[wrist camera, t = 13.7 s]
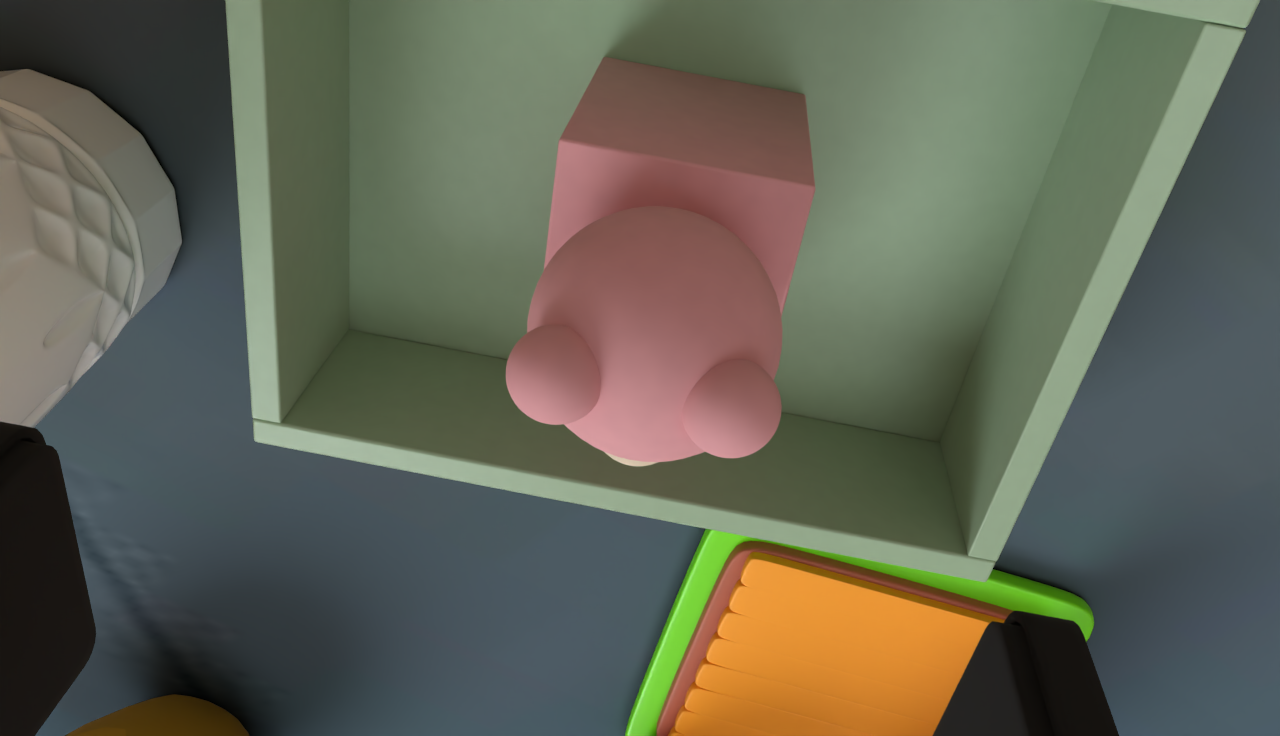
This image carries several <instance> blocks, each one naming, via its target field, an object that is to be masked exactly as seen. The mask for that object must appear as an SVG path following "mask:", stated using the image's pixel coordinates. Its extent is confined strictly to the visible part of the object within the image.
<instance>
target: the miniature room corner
mask: <svg viewBox="0 0 1280 736" xmlns="http://www.w3.org/2000/svg"><path fill="white" fill-rule="evenodd" d="M1013 611H1023V612H1028V613H1034V614H1039V615H1044V616H1050V617H1055V618H1060V619H1066V620H1071V621H1074V622H1075V623H1076V624H1078V625H1079V627H1080V629H1081V630H1082V632H1083V634H1084V637H1085V640H1086V642H1087V640H1088V639H1089V637H1090V635H1091V633H1092V630H1093V627H1094V619H1093V613H1092V610H1091V608H1090V606H1089V605H1088V604H1087V603H1086V602H1085V601H1084V600H1083V599H1082V598H1080V597H1078V596H1076V595H1074V594H1072V593H1069V592H1067V591H1064V590H1061V589H1058V588H1055V587H1052V586H1049V585H1045V584H1042V583H1039V582H1035V581H1032V580H1029V579H1025V578H1022V577H1019V576H1015V575H1012V574H1008V573H1005V572H1001V571H998V570H994V569H992V572H991V574H990V576H989V578H988V580H987V581H986V582H980V581H975V580H970V579H965V578H959V577H954V576H949V575H944V574H939V573H934V572H928V571H923V570H918V569H913V568H908V567H902V566H897V565H892V564H887V563H882V562H876V561H871V560H866V559H861V558H856V557H851V556H845V555H840V554H835V553H830V552H825V551H819V550H814V549H809V548H804V547H799V546H794V545H788V544H783V543H778V542H773V541H768V540H762V539H757V538H752V537H747V536H742V535H736V534H731V533H726V532H721V531H716V530H711V529H706V530H705V532H704V534H703V536H702V538H701V541H700V543H699V545H698V547H697V550H696V552H695V554H694V556H693V559H692V561H691V563H690V566H689V568H688V570H687V573H686V575H685V578H684V580H683V582H682V585H681V587H680V590H679V592H678V594H677V597H676V599H675V602H674V604H673V606H672V609H671V611H670V614H669V616H668V619H667V621H666V624H665V626H664V629H663V631H662V634H661V636H660V639H659V641H658V644H657V646H656V649H655V651H654V654H653V656H652V659H651V661H650V664H649V666H648V669H647V671H646V674H645V676H644V679H643V682H642V684H641V687H640V689H639V692H638V695H637V697H636V700H635V703H634V706H633V708H632V711H631V714H630V717H629V720H628V724H627V728H626V733H625V736H933V734H934V732H935V730H936V727H937V725H938V723H939V721H940V719H941V717H942V715H943V713H944V711H945V709H946V707H947V705H948V703H949V701H950V699H951V697H952V695H953V693H954V691H955V689H956V687H957V685H958V683H959V681H960V679H961V677H962V675H963V673H964V671H965V669H966V667H967V665H968V663H969V661H970V659H971V657H972V655H973V653H974V651H975V649H976V647H977V645H978V643H979V641H980V639H981V637H982V635H983V633H984V630H985V629H986V627H987V626H988V624H989V623H991V622H992V621H994V622H1001V623H1004V621H1005V620H1006V618H1007V617H1008V615H1009V614H1010V613H1012V612H1013Z"/></svg>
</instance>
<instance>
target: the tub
mask: <svg viewBox="0 0 1280 736" xmlns="http://www.w3.org/2000/svg"><path fill="white" fill-rule="evenodd" d="M1259 1H1260V0H225V2H226V17H227V33H228V48H229V64H230V79H231V95H232V110H233V126H234V142H235V157H236V173H237V188H238V204H239V219H240V235H241V251H242V266H243V282H244V297H245V313H246V328H247V344H248V359H249V375H250V391H251V406H252V417H253V418H254V419H253V430H254V440H255V441H256V442H259V443H265V444H270V445H275V446H280V447H285V448H290V449H296V450H301V451H306V452H311V453H316V454H322V455H327V456H332V457H337V458H342V459H348V460H353V461H358V462H363V463H368V464H373V465H379V466H384V467H389V468H394V469H399V470H405V471H410V472H415V473H420V474H425V475H430V476H436V477H441V478H446V479H451V480H456V481H462V482H467V483H472V484H477V485H482V486H488V487H493V488H498V489H503V490H508V491H513V492H519V493H524V494H529V495H534V496H539V497H545V498H550V499H555V500H560V501H565V502H571V503H576V504H581V505H586V506H591V507H596V508H602V509H607V510H612V511H617V512H622V513H628V514H633V515H638V516H643V517H648V518H653V519H659V520H664V521H669V522H674V523H679V524H685V525H690V526H695V527H700V528H705V529H711V530H716V531H721V532H726V533H731V534H736V535H742V536H747V537H752V538H757V539H762V540H768V541H773V542H778V543H783V544H788V545H794V546H799V547H804V548H809V549H814V550H819V551H825V552H830V553H835V554H840V555H845V556H851V557H856V558H861V559H866V560H871V561H876V562H882V563H887V564H892V565H897V566H902V567H908V568H913V569H918V570H923V571H928V572H934V573H939V574H944V575H949V576H954V577H959V578H965V579H970V580H975V581H980V582H986V581H987V580H988V578H989V576H990V574H991V572H992V569H993V567H994V565H995V561H997V560H998V558H999V556H1000V554H1001V552H1002V550H1003V548H1004V545H1005V543H1006V541H1007V539H1008V537H1009V535H1010V533H1011V531H1012V528H1013V526H1014V524H1015V522H1016V520H1017V518H1018V516H1019V514H1020V511H1021V509H1022V507H1023V505H1024V503H1025V501H1026V499H1027V497H1028V494H1029V492H1030V490H1031V488H1032V486H1033V484H1034V482H1035V480H1036V477H1037V475H1038V473H1039V471H1040V469H1041V467H1042V465H1043V463H1044V460H1045V458H1046V456H1047V454H1048V452H1049V450H1050V448H1051V446H1052V443H1053V441H1054V439H1055V437H1056V435H1057V433H1058V431H1059V429H1060V426H1061V424H1062V422H1063V420H1064V418H1065V416H1066V414H1067V412H1068V409H1069V407H1070V405H1071V403H1072V401H1073V399H1074V397H1075V395H1076V392H1077V390H1078V388H1079V386H1080V384H1081V382H1082V380H1083V378H1084V375H1085V373H1086V371H1087V369H1088V367H1089V365H1090V363H1091V361H1092V358H1093V356H1094V354H1095V352H1096V350H1097V348H1098V346H1099V344H1100V341H1101V339H1102V337H1103V335H1104V333H1105V331H1106V329H1107V327H1108V324H1109V322H1110V320H1111V318H1112V316H1113V314H1114V312H1115V310H1116V307H1117V305H1118V303H1119V301H1120V299H1121V297H1122V295H1123V293H1124V290H1125V288H1126V286H1127V284H1128V282H1129V280H1130V278H1131V276H1132V273H1133V271H1134V269H1135V267H1136V265H1137V263H1138V261H1139V259H1140V256H1141V254H1142V252H1143V250H1144V248H1145V246H1146V244H1147V242H1148V239H1149V237H1150V235H1151V233H1152V231H1153V229H1154V227H1155V225H1156V222H1157V220H1158V218H1159V216H1160V214H1161V212H1162V210H1163V208H1164V205H1165V203H1166V201H1167V199H1168V197H1169V195H1170V193H1171V191H1172V188H1173V186H1174V184H1175V182H1176V180H1177V178H1178V176H1179V174H1180V171H1181V169H1182V167H1183V165H1184V163H1185V161H1186V159H1187V157H1188V154H1189V152H1190V150H1191V148H1192V146H1193V144H1194V142H1195V140H1196V137H1197V135H1198V133H1199V131H1200V129H1201V127H1202V125H1203V123H1204V120H1205V118H1206V116H1207V114H1208V112H1209V110H1210V108H1211V106H1212V103H1213V101H1214V99H1215V97H1216V95H1217V93H1218V91H1219V89H1220V86H1221V84H1222V82H1223V80H1224V78H1225V76H1226V74H1227V72H1228V69H1229V67H1230V65H1231V63H1232V61H1233V59H1234V57H1235V55H1236V52H1237V50H1238V48H1239V46H1240V44H1241V42H1242V40H1243V38H1244V35H1245V33H1246V30H1244V29H1243V28H1245V27H1247V26H1248V25H1249V23H1250V21H1251V18H1252V16H1253V14H1254V12H1255V10H1256V8H1257V6H1258V3H1259ZM603 57H609V58H614V59H619V60H625V61H630V62H635V63H641V64H646V65H651V66H657V67H662V68H667V69H672V70H678V71H683V72H688V73H694V74H699V75H704V76H710V77H715V78H720V79H725V80H731V81H736V82H741V83H747V84H752V85H757V86H763V87H768V88H773V89H779V90H784V91H789V92H794V93H800V94H804V95H805V96H806V105H807V114H808V123H809V133H810V142H811V152H812V161H813V171H814V180H815V193H814V197H813V200H812V204H811V208H810V212H809V215H808V219H807V223H806V227H805V230H804V234H803V238H802V242H801V245H800V249H799V253H798V257H797V260H796V264H795V268H794V272H793V275H792V279H791V283H790V287H789V290H788V294H787V298H786V302H785V305H784V309H783V313H782V317H781V320H782V329H783V332H782V349H781V356H780V361H779V366H778V369H777V372H776V375H775V378H774V382H775V384H776V386H777V388H778V391H779V394H780V397H781V405H782V409H781V418H780V422H779V425H778V428H777V430H776V432H775V434H774V435H773V437H772V438H771V439H770V441H769V442H768V443H767V444H766V445H765V446H764V447H762V448H761V449H760V450H758V451H756V452H755V453H753V454H750V455H748V456H744V457H740V458H721V457H717V456H714V455H711V454H709V453H707V452H703V453H701V454H698V455H694V456H691V457H688V458H684V459H679V460H674V461H666V462H657V463H655V464H652V465H647V466H629V465H625V464H622V463H620V462H618V461H616V460H614V459H612V458H611V457H610V456H608V455H607V454H606V453H605V452H604V451H602V450H600V449H597V448H595V447H593V446H592V445H590V444H589V443H587V442H585V441H584V440H582V439H581V438H580V437H578V436H577V435H576V434H575V433H573V432H572V431H571V430H570V429H568V428H567V427H566V426H565V425H564V424H561V425H551V424H545V423H541V422H538V421H536V420H534V419H532V418H530V417H529V416H527V415H526V414H525V413H523V412H522V411H521V410H520V409H519V408H518V407H517V405H516V404H515V403H514V401H513V400H512V398H511V396H510V393H509V391H508V388H507V383H506V365H507V361H508V358H509V355H510V353H511V351H512V349H513V347H514V346H515V344H516V343H517V342H518V341H519V340H520V339H521V338H522V337H523V336H524V335H525V334H526V333H527V321H528V314H529V309H530V304H531V300H532V297H533V294H534V291H535V288H536V285H537V283H538V281H539V279H540V277H541V275H542V273H543V271H544V263H545V255H546V246H547V238H548V229H549V220H550V212H551V203H552V195H553V186H554V177H555V169H556V160H557V152H558V143H559V139H560V137H561V136H562V134H563V132H564V130H565V128H566V126H567V124H568V122H569V121H570V119H571V117H572V115H573V113H574V111H575V109H576V107H577V106H578V104H579V102H580V100H581V98H582V96H583V94H584V93H585V91H586V89H587V87H588V85H589V83H590V81H591V79H592V78H593V76H594V74H595V72H596V70H597V68H598V66H599V64H600V63H601V61H602V59H603Z"/></svg>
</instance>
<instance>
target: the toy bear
mask: <svg viewBox="0 0 1280 736" xmlns="http://www.w3.org/2000/svg"><path fill="white" fill-rule="evenodd" d="M814 193H815V180H814V171H813V161H812V152H811V142H810V133H809V123H808V114H807V105H806V96H805V95H804V94H800V93H794V92H789V91H784V90H779V89H773V88H768V87H763V86H757V85H752V84H747V83H741V82H736V81H731V80H725V79H720V78H715V77H710V76H704V75H699V74H694V73H688V72H683V71H678V70H672V69H667V68H662V67H657V66H651V65H646V64H641V63H635V62H630V61H625V60H619V59H614V58H609V57H603V59H602V61H601V63H600V64H599V66H598V68H597V70H596V72H595V74H594V76H593V78H592V79H591V81H590V83H589V85H588V87H587V89H586V91H585V93H584V94H583V96H582V98H581V100H580V102H579V104H578V106H577V107H576V109H575V111H574V113H573V115H572V117H571V119H570V121H569V122H568V124H567V126H566V128H565V130H564V132H563V134H562V136H561V137H560V139H559V143H558V152H557V160H556V169H555V177H554V186H553V195H552V203H551V212H550V220H549V229H548V238H547V246H546V255H545V263H544V271H543V273H542V275H541V277H540V279H539V281H538V283H537V285H536V288H535V291H534V294H533V297H532V300H531V304H530V309H529V314H528V321H527V333H526V334H525V335H524V336H523V337H522V338H521V339H520V340H519V341H518V342H517V343H516V344H515V346H514V347H513V349H512V351H511V353H510V355H509V358H508V361H507V365H506V383H507V388H508V391H509V393H510V396H511V398H512V400H513V401H514V403H515V404H516V405H517V407H518V408H519V409H520V410H521V411H522V412H523V413H525V414H526V415H527V416H529V417H530V418H532V419H534V420H536V421H538V422H541V423H545V424H551V425H561V424H564V425H565V426H566V427H567V428H568V429H570V430H571V431H572V432H573V433H575V434H576V435H577V436H578V437H580V438H581V439H582V440H584V441H585V442H587V443H589V444H590V445H592V446H593V447H595V448H597V449H600V450H602V451H604V452H605V453H606V454H607V455H608V456H610V457H611V458H612V459H614V460H616V461H618V462H620V463H622V464H625V465H629V466H647V465H652V464H655V463H657V462H666V461H674V460H679V459H684V458H688V457H691V456H694V455H698V454H701V453H703V452H707V453H709V454H711V455H714V456H717V457H721V458H740V457H744V456H748V455H750V454H753V453H755V452H756V451H758V450H760V449H761V448H762V447H764V446H765V445H766V444H767V443H768V442H769V441H770V439H771V438H772V437H773V435H774V434H775V432H776V430H777V428H778V425H779V422H780V418H781V409H782V405H781V397H780V394H779V391H778V388H777V386H776V384H775V382H774V378H775V375H776V372H777V369H778V366H779V361H780V356H781V349H782V332H783V329H782V320H781V317H782V313H783V309H784V305H785V302H786V298H787V294H788V290H789V287H790V283H791V279H792V275H793V272H794V268H795V264H796V260H797V257H798V253H799V249H800V245H801V242H802V238H803V234H804V230H805V227H806V223H807V219H808V215H809V212H810V208H811V204H812V200H813V197H814Z"/></svg>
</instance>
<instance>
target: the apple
mask: <svg viewBox="0 0 1280 736" xmlns="http://www.w3.org/2000/svg"><path fill="white" fill-rule="evenodd" d="M65 736H249V733H248V732H247V731H246V729H245V728H244V727H243V726H242V724H241V723H240V722H239V720H238V719H237V718H236V717H234V716H233V715H232V714H230V713H229V712H228V711H226V710H225V709H223V708H221V707H219V706H217V705H215V704H213V703H211V702H209V701H206V700H202V699H199V698H195V697H191V696H184V695H176V694H172V695H167V696H162V697H157V698H152V699H149V700H146V701H143V702H140V703H137V704H134V705H131V706H128V707H126V708H123V709H121V710H118V711H116V712H114V713H111V714H109V715H106V716H104V717H102V718H99V719H97V720H95V721H92V722H90V723H87V724H85V725H83V726H82V727H80V728H78V729H76V730H74V731H72V732H71V733H69V734H67V735H65Z"/></svg>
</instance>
